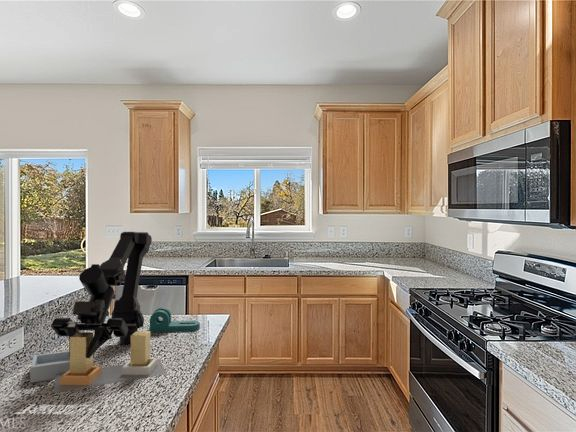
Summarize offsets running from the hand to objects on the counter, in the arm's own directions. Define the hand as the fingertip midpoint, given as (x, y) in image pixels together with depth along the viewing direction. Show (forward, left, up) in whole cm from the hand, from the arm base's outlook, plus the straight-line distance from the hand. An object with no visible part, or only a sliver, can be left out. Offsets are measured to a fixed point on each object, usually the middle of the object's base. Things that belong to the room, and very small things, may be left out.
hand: (79, 357), depth 104 cm
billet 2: (-1, +15, -6) cm, 16 cm away
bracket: (-41, +33, -8) cm, 53 cm away
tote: (-13, -6, -8) cm, 17 cm away
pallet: (-1, +7, -8) cm, 10 cm away
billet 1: (-1, +1, -5) cm, 5 cm away
